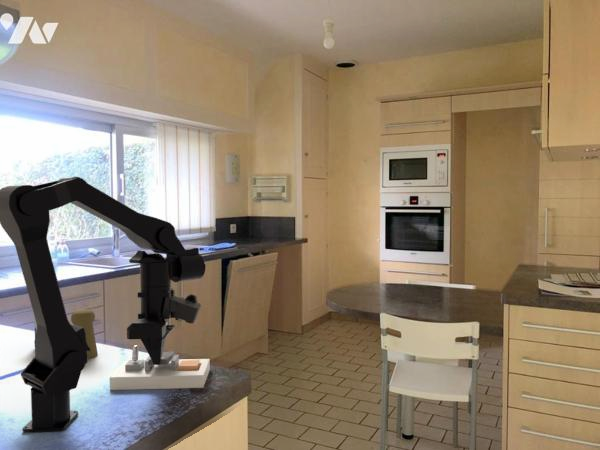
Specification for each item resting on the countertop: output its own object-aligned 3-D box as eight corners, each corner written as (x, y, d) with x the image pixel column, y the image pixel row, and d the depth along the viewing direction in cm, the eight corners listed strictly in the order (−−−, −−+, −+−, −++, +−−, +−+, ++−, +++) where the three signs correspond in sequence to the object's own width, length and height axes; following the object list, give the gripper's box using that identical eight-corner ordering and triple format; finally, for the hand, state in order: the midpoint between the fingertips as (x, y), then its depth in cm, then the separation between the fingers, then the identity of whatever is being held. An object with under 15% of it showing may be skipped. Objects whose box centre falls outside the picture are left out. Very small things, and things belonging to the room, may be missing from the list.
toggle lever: (137, 361, 101) (138, 345, 102) (131, 361, 101) (132, 345, 102) (138, 361, 102) (139, 345, 103) (132, 361, 102) (133, 345, 103)
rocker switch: (166, 364, 98) (166, 358, 98) (148, 365, 97) (148, 359, 97) (174, 356, 106) (174, 350, 106) (157, 356, 105) (157, 351, 105)
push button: (197, 380, 100) (196, 365, 100) (179, 380, 100) (178, 366, 100) (199, 374, 104) (199, 360, 104) (182, 374, 104) (182, 360, 104)
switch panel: (203, 387, 97) (203, 365, 97) (109, 390, 96) (109, 367, 96) (209, 370, 107) (209, 349, 107) (125, 372, 106) (124, 351, 106)
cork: (102, 352, 120) (101, 307, 120) (89, 360, 114) (88, 313, 114) (78, 351, 121) (77, 307, 120) (64, 359, 115) (63, 312, 114)
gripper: (189, 291, 88) (190, 379, 88) (204, 278, 106) (205, 350, 107) (125, 292, 87) (126, 380, 88) (151, 279, 106) (152, 351, 106)
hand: (156, 364), depth 97 cm, fingers closed
